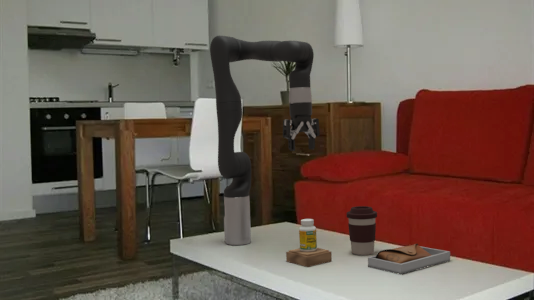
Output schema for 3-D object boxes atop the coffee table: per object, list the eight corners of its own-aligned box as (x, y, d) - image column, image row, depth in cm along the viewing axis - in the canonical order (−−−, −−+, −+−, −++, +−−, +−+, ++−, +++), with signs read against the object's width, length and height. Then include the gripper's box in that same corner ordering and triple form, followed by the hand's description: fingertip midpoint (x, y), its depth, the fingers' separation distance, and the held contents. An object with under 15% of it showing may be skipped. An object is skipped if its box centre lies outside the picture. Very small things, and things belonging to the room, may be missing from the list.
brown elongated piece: (396, 267, 172) (387, 245, 174) (381, 275, 177) (372, 254, 179) (438, 257, 182) (429, 237, 184) (422, 265, 187) (414, 245, 189)
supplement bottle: (309, 247, 191) (308, 217, 190) (320, 250, 186) (319, 219, 186) (296, 250, 188) (295, 219, 187) (306, 253, 183) (305, 221, 183)
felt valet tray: (368, 266, 178) (367, 257, 178) (416, 254, 192) (416, 245, 191) (401, 274, 168) (401, 264, 168) (450, 260, 182) (450, 251, 181)
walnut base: (286, 261, 188) (286, 250, 188) (310, 256, 194) (309, 245, 194) (307, 267, 180) (307, 255, 180) (331, 261, 186) (331, 250, 186)
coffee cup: (341, 253, 196) (340, 208, 195) (358, 248, 203) (357, 204, 202) (367, 257, 189) (365, 210, 188) (384, 252, 196) (382, 206, 196)
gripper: (309, 101, 207) (310, 148, 208) (276, 102, 198) (278, 151, 199) (323, 100, 201) (325, 149, 202) (291, 101, 192) (292, 151, 193)
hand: (302, 150), depth 201 cm, fingers open, 8 cm apart
